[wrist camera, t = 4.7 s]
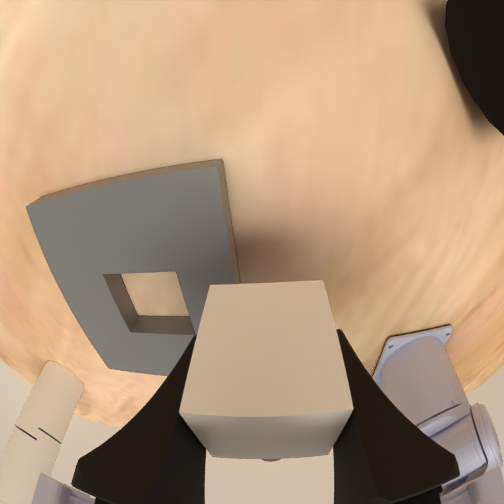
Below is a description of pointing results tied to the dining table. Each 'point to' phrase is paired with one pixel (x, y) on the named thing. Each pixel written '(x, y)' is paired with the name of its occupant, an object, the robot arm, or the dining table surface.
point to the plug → (267, 373)
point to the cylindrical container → (38, 433)
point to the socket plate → (139, 255)
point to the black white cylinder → (479, 52)
